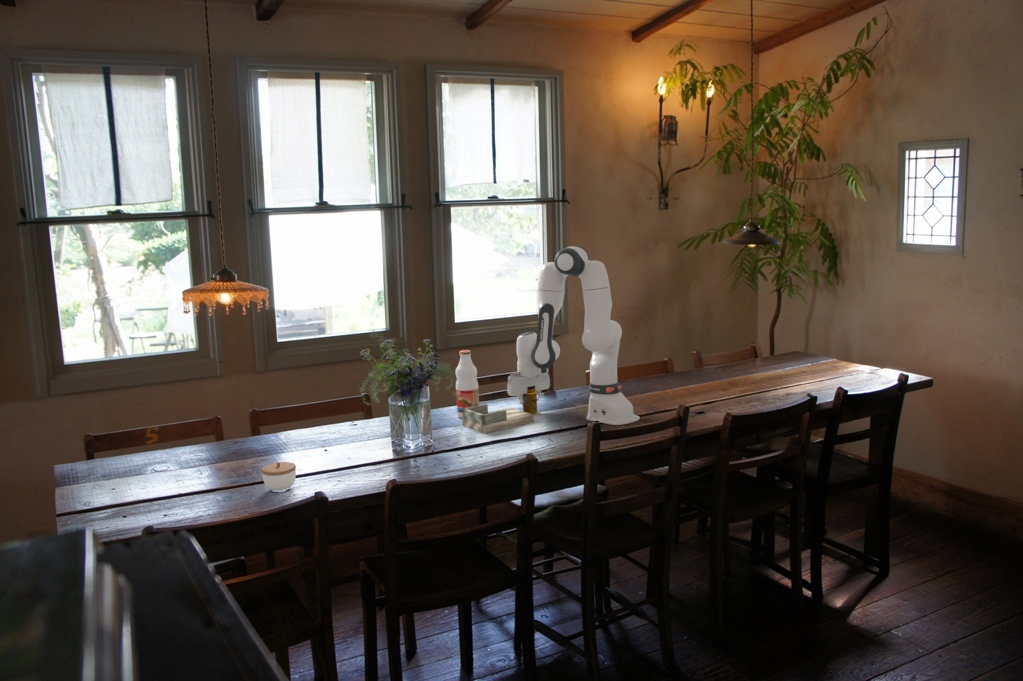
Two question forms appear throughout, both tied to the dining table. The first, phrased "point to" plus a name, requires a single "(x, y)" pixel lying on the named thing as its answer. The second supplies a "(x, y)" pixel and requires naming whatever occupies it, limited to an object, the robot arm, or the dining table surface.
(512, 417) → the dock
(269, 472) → the lidded jar
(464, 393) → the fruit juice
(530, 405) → the condiment
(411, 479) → the dining table surface
